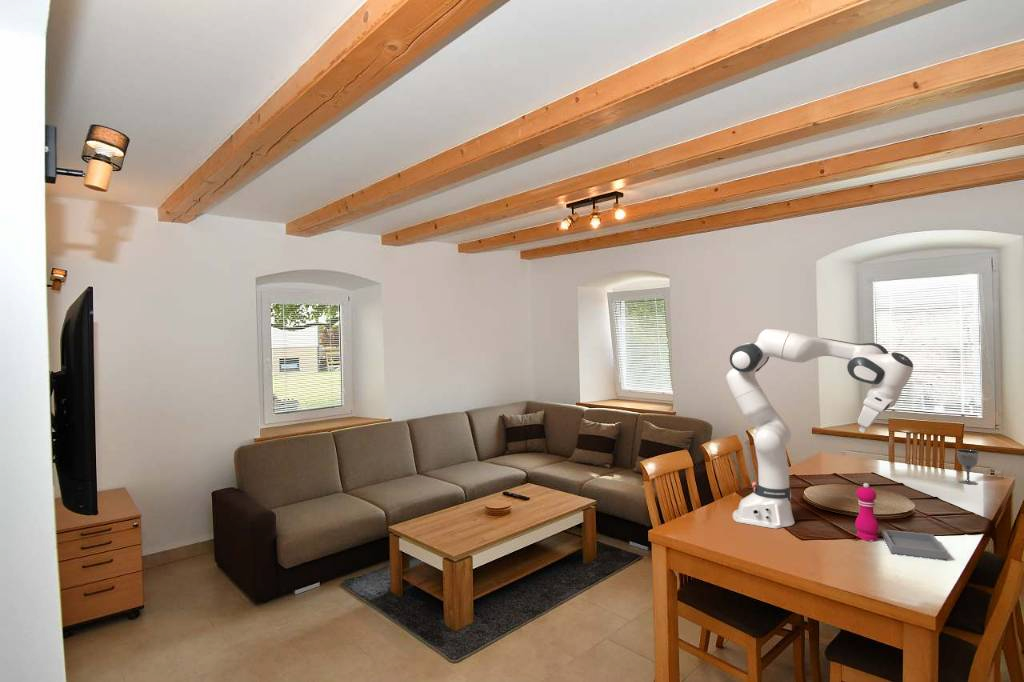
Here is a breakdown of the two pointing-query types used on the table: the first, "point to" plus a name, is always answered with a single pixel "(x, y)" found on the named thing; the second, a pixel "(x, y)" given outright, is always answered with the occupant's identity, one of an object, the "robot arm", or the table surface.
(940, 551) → the tray
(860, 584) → the table surface
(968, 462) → the wine glass
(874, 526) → the pepper mill
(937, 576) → the table surface
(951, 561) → the table surface
